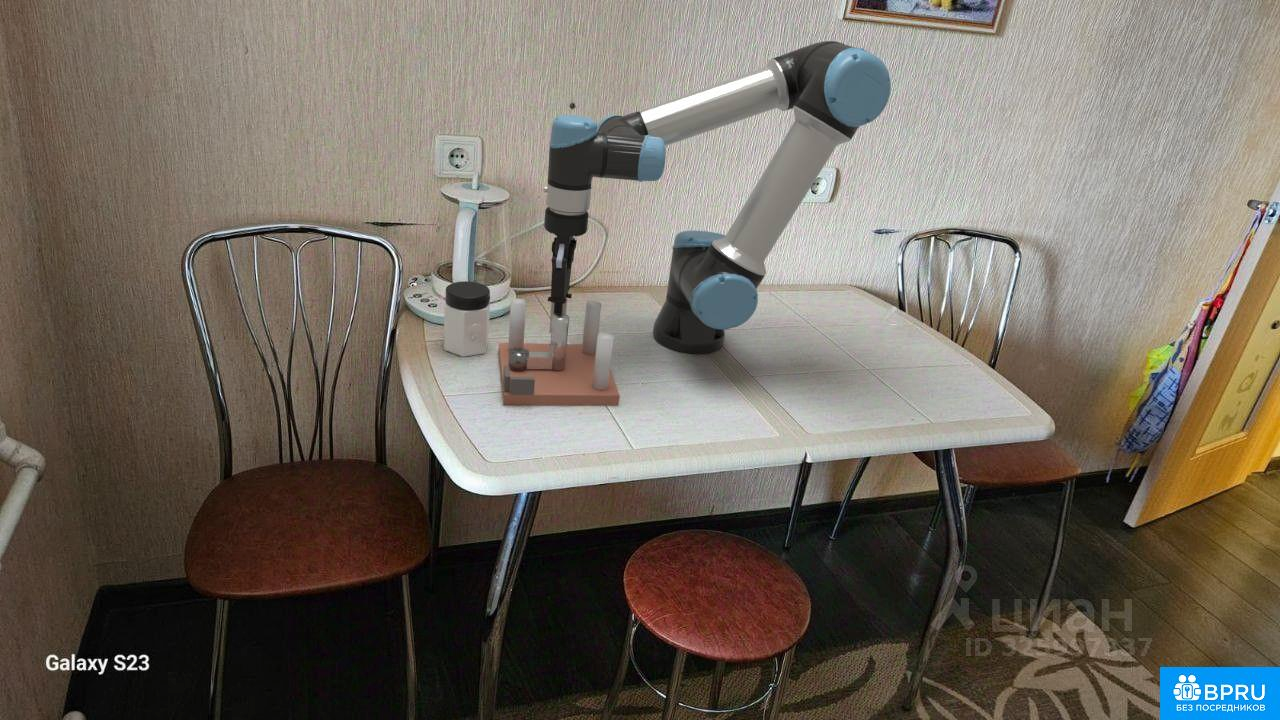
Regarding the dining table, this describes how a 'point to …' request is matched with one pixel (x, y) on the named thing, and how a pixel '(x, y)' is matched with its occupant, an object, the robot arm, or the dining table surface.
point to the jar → (466, 318)
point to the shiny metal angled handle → (544, 360)
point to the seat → (571, 386)
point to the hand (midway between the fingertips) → (556, 332)
